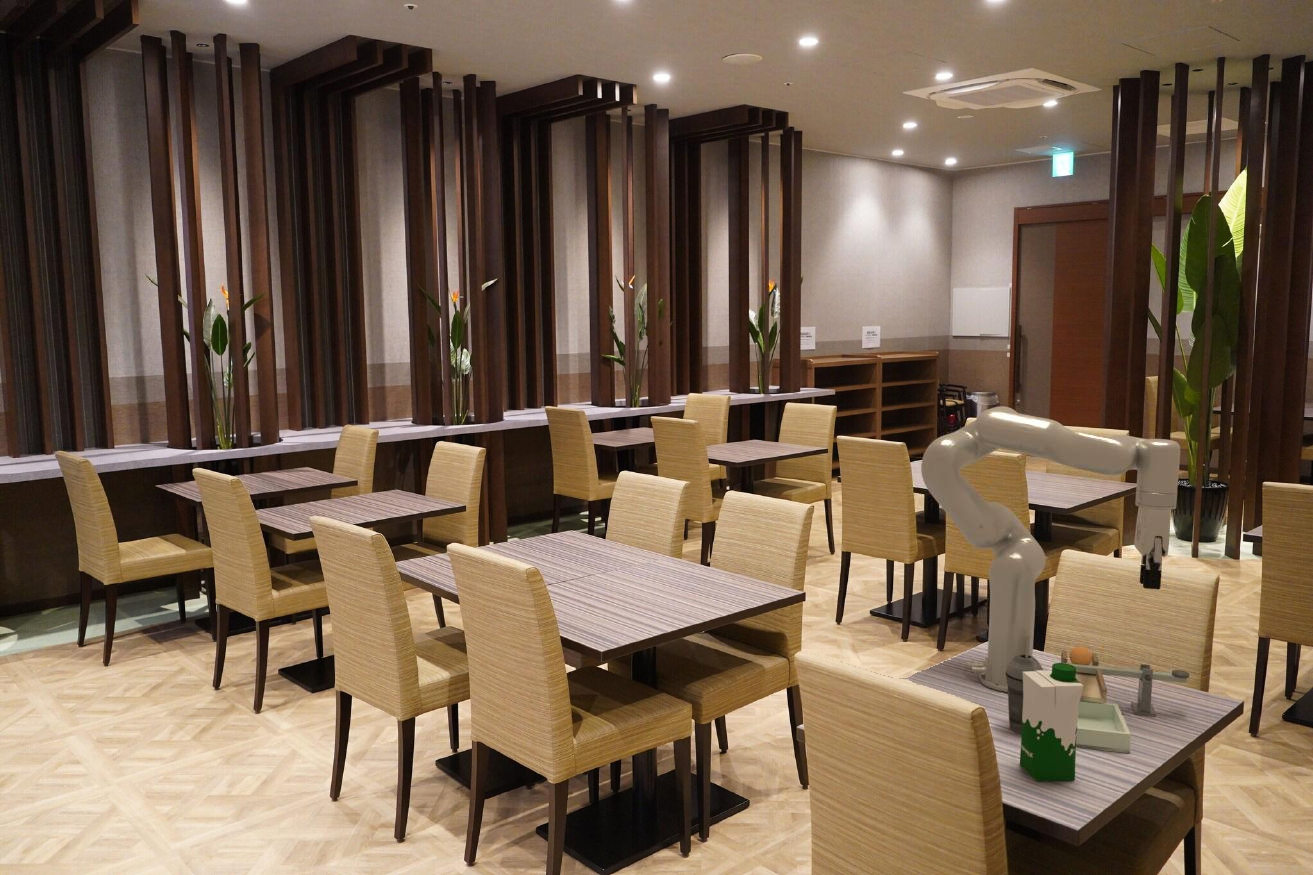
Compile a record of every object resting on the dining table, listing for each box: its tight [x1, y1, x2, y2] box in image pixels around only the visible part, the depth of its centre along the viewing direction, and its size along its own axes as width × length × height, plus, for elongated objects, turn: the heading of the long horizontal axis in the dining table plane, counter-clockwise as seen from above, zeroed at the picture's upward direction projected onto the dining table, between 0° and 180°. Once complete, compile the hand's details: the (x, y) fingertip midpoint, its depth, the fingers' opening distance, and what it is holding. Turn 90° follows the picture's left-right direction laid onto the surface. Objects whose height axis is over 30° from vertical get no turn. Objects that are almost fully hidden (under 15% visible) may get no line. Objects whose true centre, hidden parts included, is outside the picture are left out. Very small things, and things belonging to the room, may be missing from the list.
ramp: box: [1060, 650, 1108, 703], centre depth 209 cm, size 7×16×10 cm, turn 164°
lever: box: [1066, 663, 1190, 684], centre depth 208 cm, size 25×3×2 cm, turn 74°
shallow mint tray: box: [1076, 700, 1132, 754], centre depth 196 cm, size 12×15×4 cm
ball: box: [1069, 646, 1092, 665], centre depth 213 cm, size 4×4×4 cm
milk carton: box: [1019, 662, 1084, 783], centre depth 178 cm, size 9×9×20 cm
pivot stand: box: [1130, 663, 1157, 718], centre depth 207 cm, size 4×5×10 cm
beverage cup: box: [1006, 636, 1044, 736], centre depth 196 cm, size 7×7×20 cm
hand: (1149, 585), depth 204 cm, fingers open, 2 cm apart
